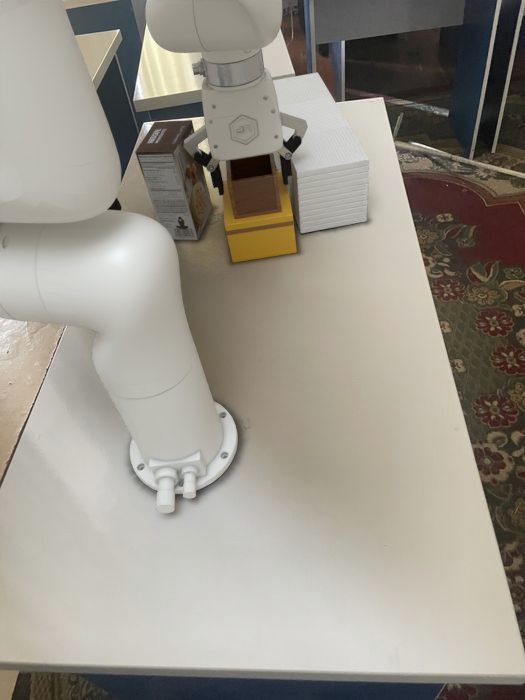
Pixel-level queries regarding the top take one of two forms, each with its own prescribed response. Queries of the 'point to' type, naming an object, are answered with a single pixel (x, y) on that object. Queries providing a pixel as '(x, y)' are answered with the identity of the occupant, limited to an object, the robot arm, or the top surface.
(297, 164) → the stack of papers
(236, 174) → the wooden box
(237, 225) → the box
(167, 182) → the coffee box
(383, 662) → the top surface
